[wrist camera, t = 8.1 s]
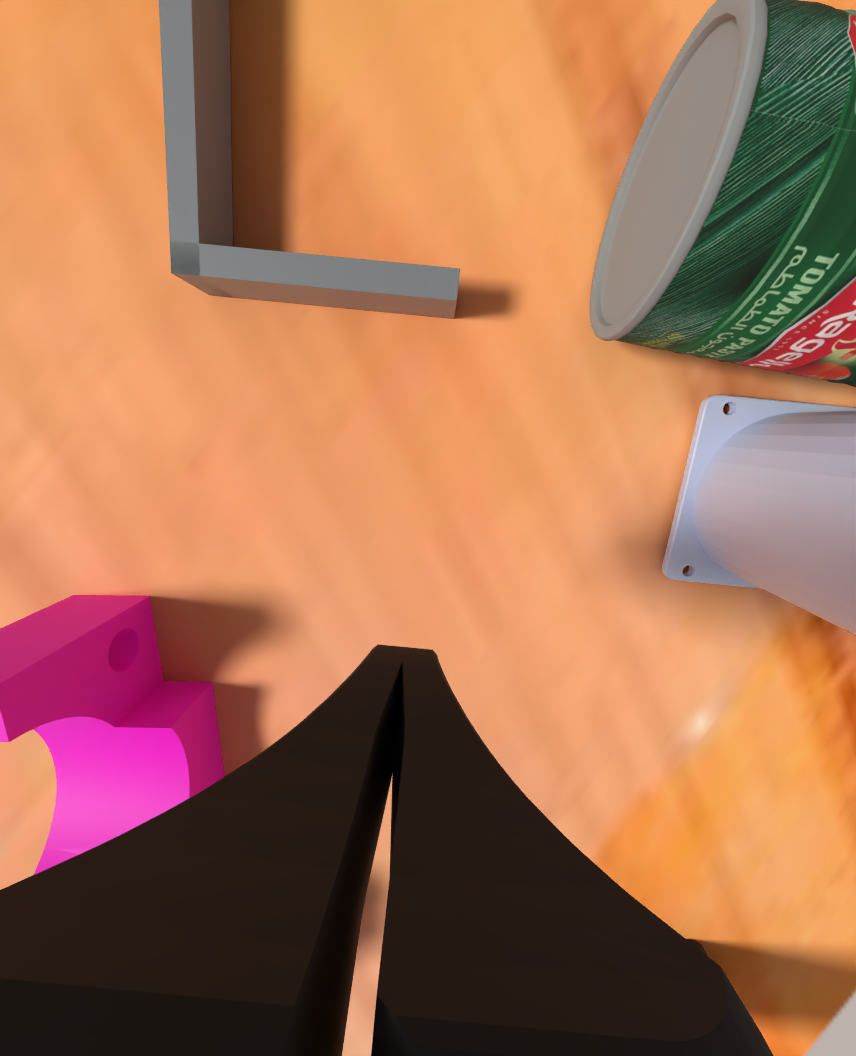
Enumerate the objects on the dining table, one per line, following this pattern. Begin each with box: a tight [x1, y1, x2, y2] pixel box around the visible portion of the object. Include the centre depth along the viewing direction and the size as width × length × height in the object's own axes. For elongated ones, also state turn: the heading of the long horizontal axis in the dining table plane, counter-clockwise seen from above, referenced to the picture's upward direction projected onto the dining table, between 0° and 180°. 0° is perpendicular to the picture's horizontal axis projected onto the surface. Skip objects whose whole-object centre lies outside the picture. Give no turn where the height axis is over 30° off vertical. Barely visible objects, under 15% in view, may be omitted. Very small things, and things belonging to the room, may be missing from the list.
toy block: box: [0, 595, 225, 875], centre depth 19 cm, size 15×6×8 cm, turn 0°
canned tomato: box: [590, 0, 856, 387], centre depth 13 cm, size 8×8×11 cm
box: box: [159, 0, 460, 319], centre depth 14 cm, size 10×14×2 cm
